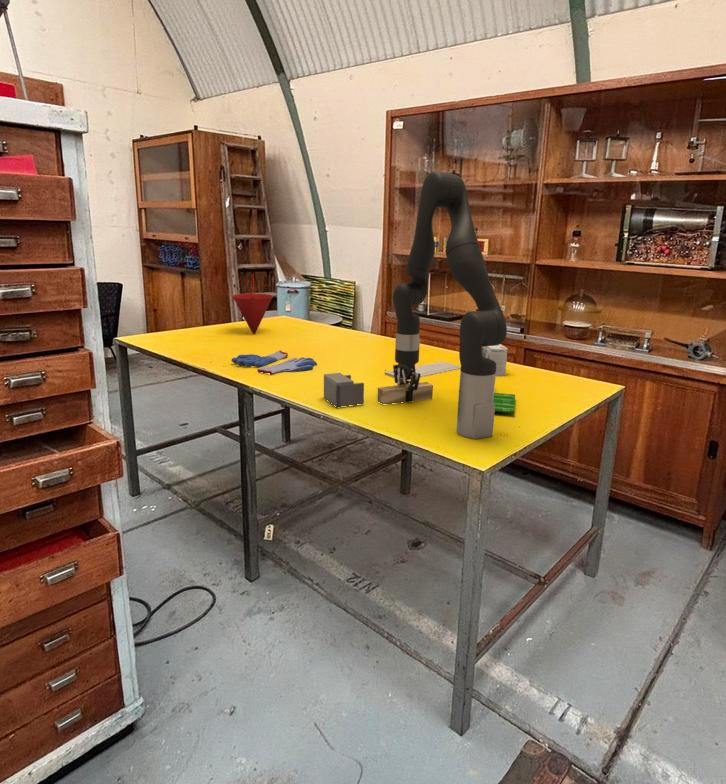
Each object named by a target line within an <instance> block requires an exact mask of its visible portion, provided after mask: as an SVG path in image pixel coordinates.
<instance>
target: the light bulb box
mask: <svg viewBox="0 0 726 784" xmlns="http://www.w3.org/2000/svg"><path fill="white" fill-rule="evenodd" d="M508 349H509V348H507V347H506V346H505V345H503V344H502V343H501V344H499V345H494V346H483V347H482V356H483V357H485V358H488V359H491V360H493V361H495V363H496V377H505V376H506V368H507V360H508Z"/></svg>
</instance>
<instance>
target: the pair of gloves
mask: <svg viewBox="0 0 726 784" xmlns="http://www.w3.org/2000/svg"><path fill="white" fill-rule="evenodd" d="M288 357H289V354H288V352H287V351H286V352H285V351H282V350H278V351H276V352H274V353H273V352H272V353H271V354H267V355H264V356H263V355H262V356H260V355H259V354H252V353H250V354H239V355H237V356H236V357H232V358H231V362H232V363H233V364H235V365H238V366H241V365H243V366H246V367H247V368H248V367H249V368H252V367H251V366H254V367H255V368H256V367H257V372H258V373H260V372H263V373H262V374H264V373H270V375H269V376H273V375H274V374H277V373H286V372H287V373H292V372H295V371H296V372H307V371H312V370H313V369H314V367H315V366H318V363H317V362H316V361H315V359H313V358H311V357H304V356H303V357H298V358H297V357H293V358H290V359H288V360H286V361H282V362H280V363H278V364H272V365H271V366H267V364H268V365H269V364H270V363H273V362H275V361H276V360H277V361H280V360H282V359H287V358H288ZM265 365H266V366H265ZM262 366H263V367H262ZM306 370H307V371H306ZM281 371H282V372H281ZM296 372H295V373H296ZM274 376H275V375H274Z"/></svg>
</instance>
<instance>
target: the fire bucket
mask: <svg viewBox="0 0 726 784" xmlns="http://www.w3.org/2000/svg"><path fill="white" fill-rule="evenodd" d="M254 278H255V277H254V273H252V275H251V279H250V280H251V281H250V283H252V285H250V288H249V291H248V293H241V294H240V293H238V294H234V295H232V296H231V297H232V299H233V300H234V302H235V304H236V306H237V307H238V311H239V312H240V313H241V315H242V318H244V322H246V324H247V326H248V328H249V329H250V331H251V333H252V335H256V333H257V331H258V329H259V327H260V325H261V323H262V320H263V318H264V316H265V314H266V313H267V309H268V308H269V305H270V303H271V301H272V299H273V298H274V295H272V294H267V293H253V291H251V290H254V285H255V284H254V283H255V281H254V280H255V279H254Z"/></svg>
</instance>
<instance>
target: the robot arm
mask: <svg viewBox="0 0 726 784" xmlns="http://www.w3.org/2000/svg"><path fill="white" fill-rule="evenodd" d="M466 187H467V186H466V184H465V182H464V179H462V177H461V176H459V175H457V174H454V173H449V172H444V171H439V170H433V171H430V172H429V173H428V174H427V175H426V177H425V178H424V180H423V183H422V187H421V190H420V196H419V201H418V203H419V204H418V209H417V216H416V223H415V229H414V237H413V242H412V244H411V245H412V246H411V248H410V251H409V252H410V253H409V256H408V259H407V262H406V266H405V273H406V274H407V275H408V276H410V282H403V283H402V282H401V283H399V284H397V285H396V286H395V288H394V290H393V294H392V302H393V303H392V304H393V308H394V311H395V312H394V313H395V316H396V317H395V318H396V334H395V347H394V362H395V363H396V364H393V365H392V369H393V370H392V371H394V377H393V378H394V383H395V384H397V385H404V384H405V385H406V398H405V401H406V403H412V400H413V390H417V388H418V384H419V383H420V380H421V377H420V373H416V372H415V371H416V370H415V366H416V365H417V364H418V363H419V362H420V345H421V344H420V343H421V342H420V340H421V338H420V323H421V322H420V320H421V318H420V316H419V315H418V314H416V313H414V311H413V308H412V307H413V306H419V305H420V304H422V303H423V302H424V301H425V300H426V297H427V295H428V286H429V273H430V270H431V266H432V264H433V260H434V258H435V255H436V254H435V252H436V242H435V237H434V236H435V235H434V230H433V219H434V214H435V211H436V209H437V208H440V209H441V208H442V209H445V210H446V212H447V214H448V217H449V221H450V231H449V234H448V237H447V240H446V243H445V256H446V260H447V263H448V267H449V270H450V272H451V273H450V274H451V275H452V277H453V278H454V279H455V280H456V282H457V283H458V284H459V285H460V286H461V287H462V288H463V289H464V290H465V291H466V293H468V294H469V295H470V297H471V298H472V299H473V301H474V303H475V305H476V308H477V310H474V311H468V312H466V313H465V314H464V315H463V316H462V318H461V320H460V325H459V355H458V357H459V362H460V368H461V369H460V372H459V373H460V374H459V384H458V385H459V387H458V403H457V416H456V417H457V418H456V428H455V429H456V433H457V434H459V436H463V437H466V438H470V439H473V440H478V439H484V438H489V437H493V434H494V425H495V424H494V423H495V422H494V421H495V402H493V399H494V393H495V387H496V377H497V376H496V363H495V361H493V360H491V359H488V358H485V357H483V356H482V351H483V346H494V345H499V344H501V345H502V344H503V343H504V341H505V340H506V338H507V333H508V330H507V323H506V317H505V316H504V313H503V311H502V308H501V305H500V302H499V301H498V298H497V296H496V293H495V291H494V289H493V285H492V283H491V279H490V277H489V273H488V270H487V267H486V263H485V259H484V256H483V252H482V249H481V246H480V243H479V240H478V236H477V233H476V230H475V227H474V222H473V217H472V214H471V210H470V209H471V208H470V201H469V196H468V192H467V188H466ZM397 371H398V372H397ZM397 375H398V376H397ZM409 384H410V385H409ZM414 384H415V386H414Z"/></svg>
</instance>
